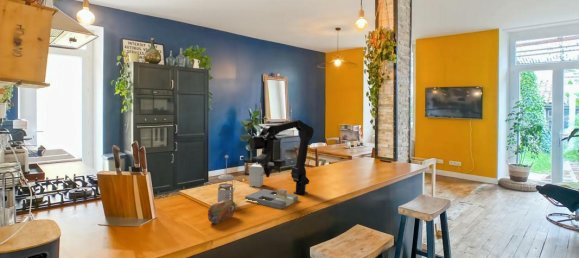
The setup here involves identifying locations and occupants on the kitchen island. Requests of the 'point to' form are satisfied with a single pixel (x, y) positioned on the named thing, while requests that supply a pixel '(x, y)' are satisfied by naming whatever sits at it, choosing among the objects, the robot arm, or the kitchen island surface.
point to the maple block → (281, 194)
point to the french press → (225, 186)
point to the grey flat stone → (221, 211)
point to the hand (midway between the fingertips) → (267, 177)
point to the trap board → (271, 199)
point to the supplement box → (256, 175)
